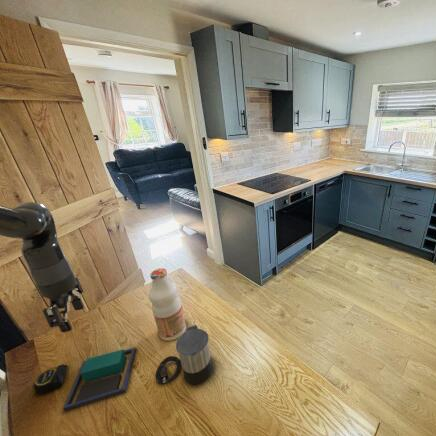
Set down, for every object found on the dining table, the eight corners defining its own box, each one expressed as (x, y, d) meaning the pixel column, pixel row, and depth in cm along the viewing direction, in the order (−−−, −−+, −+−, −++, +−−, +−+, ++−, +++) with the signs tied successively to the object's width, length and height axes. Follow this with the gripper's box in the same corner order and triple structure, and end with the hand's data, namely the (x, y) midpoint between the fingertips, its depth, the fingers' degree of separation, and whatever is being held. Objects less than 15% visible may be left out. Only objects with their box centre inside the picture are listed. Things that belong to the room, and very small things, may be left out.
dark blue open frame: (65, 412, 66) (62, 408, 65) (86, 365, 79) (83, 361, 78) (126, 393, 71) (124, 389, 70) (136, 351, 84) (134, 347, 83)
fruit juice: (155, 342, 87) (136, 281, 75) (166, 321, 96) (151, 264, 84) (181, 342, 87) (166, 281, 76) (190, 321, 96) (178, 264, 84)
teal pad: (85, 383, 73) (80, 373, 71) (91, 368, 77) (86, 358, 75) (123, 372, 76) (119, 362, 74) (127, 358, 81) (123, 349, 79)
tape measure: (63, 389, 72) (58, 381, 70) (32, 400, 69) (27, 392, 67) (69, 369, 77) (65, 361, 76) (41, 379, 74) (36, 371, 73)
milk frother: (218, 374, 77) (213, 342, 71) (166, 410, 67) (155, 377, 61) (201, 344, 86) (195, 314, 80) (153, 372, 77) (143, 340, 71)
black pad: (76, 405, 67) (74, 402, 67) (83, 388, 72) (81, 384, 71) (117, 392, 71) (116, 389, 70) (121, 376, 75) (120, 373, 74)
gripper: (49, 263, 69) (69, 305, 75) (18, 296, 57) (44, 343, 63) (81, 258, 71) (97, 300, 78) (58, 289, 59) (79, 335, 66)
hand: (73, 319), depth 71 cm, fingers open, 8 cm apart
